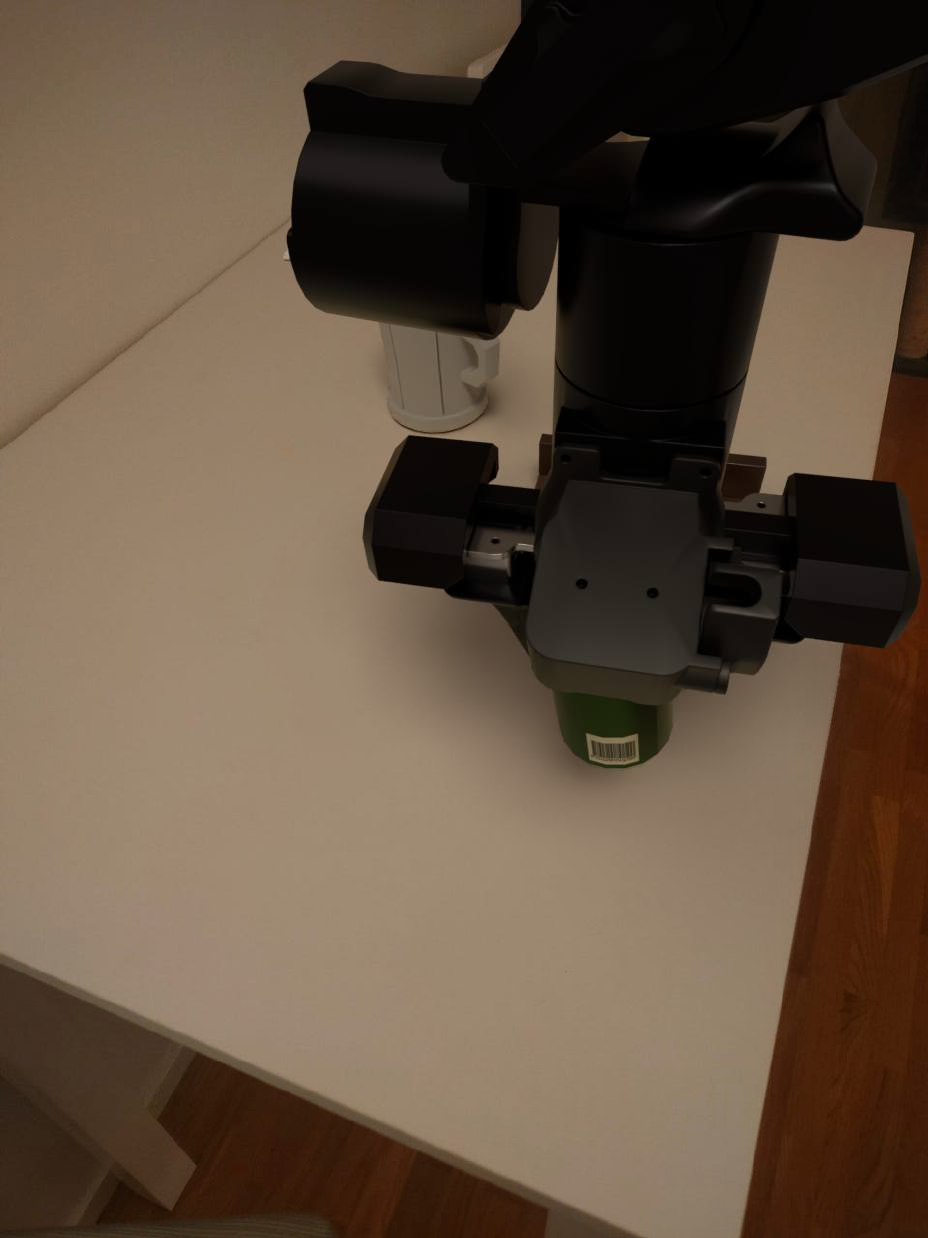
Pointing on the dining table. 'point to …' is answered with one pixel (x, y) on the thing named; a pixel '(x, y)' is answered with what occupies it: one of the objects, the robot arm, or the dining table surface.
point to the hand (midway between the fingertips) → (610, 670)
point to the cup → (437, 377)
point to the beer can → (612, 728)
